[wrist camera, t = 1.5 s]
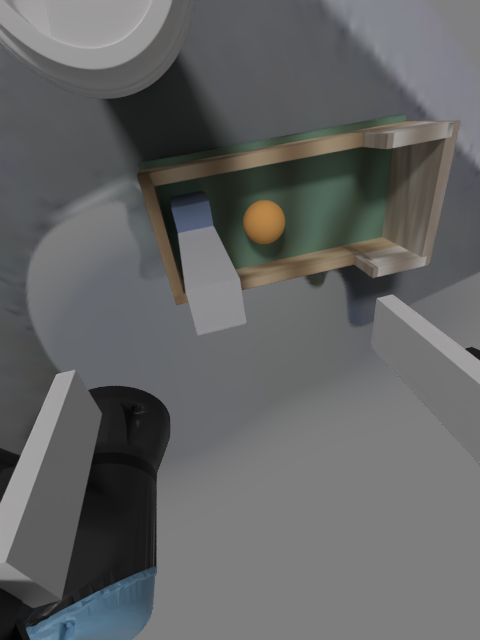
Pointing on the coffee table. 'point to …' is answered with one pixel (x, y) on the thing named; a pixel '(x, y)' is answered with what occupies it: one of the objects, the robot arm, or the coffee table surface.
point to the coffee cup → (96, 41)
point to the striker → (206, 267)
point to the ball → (264, 222)
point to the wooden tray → (314, 198)
